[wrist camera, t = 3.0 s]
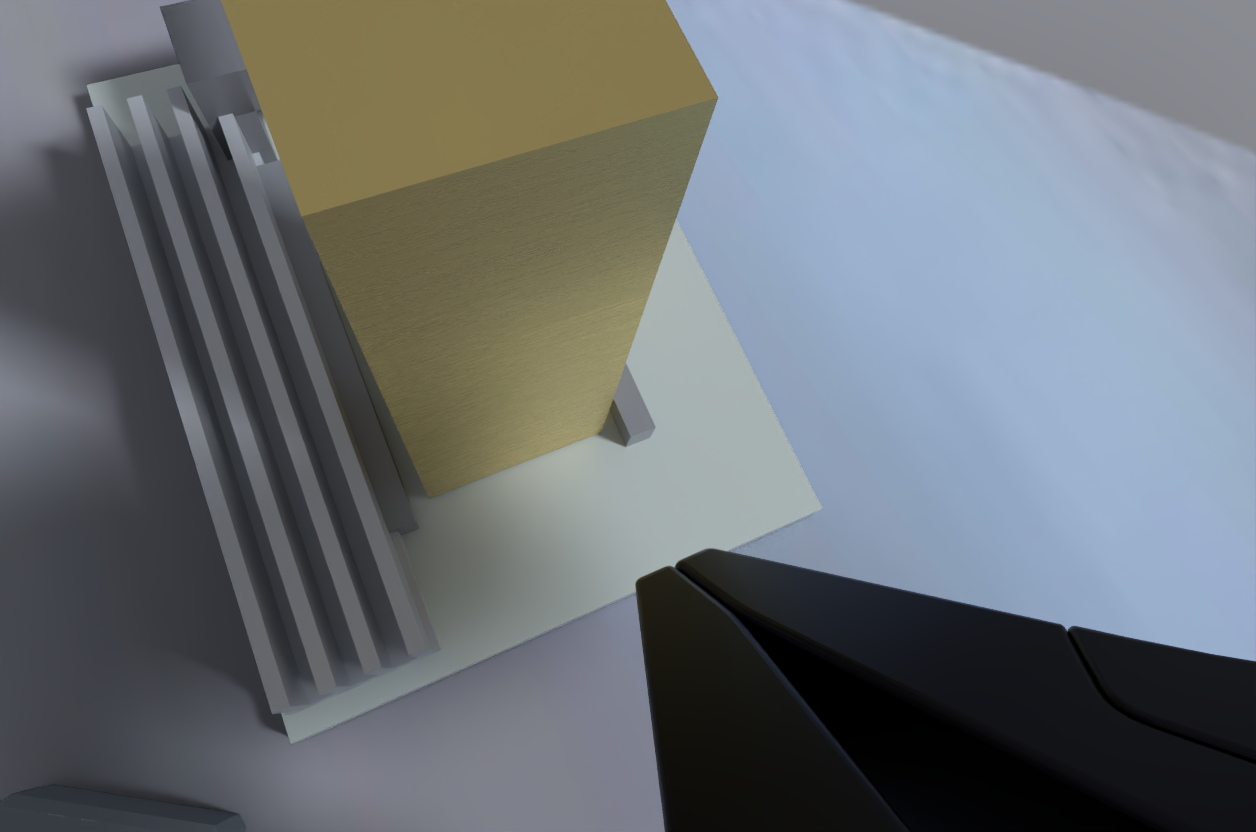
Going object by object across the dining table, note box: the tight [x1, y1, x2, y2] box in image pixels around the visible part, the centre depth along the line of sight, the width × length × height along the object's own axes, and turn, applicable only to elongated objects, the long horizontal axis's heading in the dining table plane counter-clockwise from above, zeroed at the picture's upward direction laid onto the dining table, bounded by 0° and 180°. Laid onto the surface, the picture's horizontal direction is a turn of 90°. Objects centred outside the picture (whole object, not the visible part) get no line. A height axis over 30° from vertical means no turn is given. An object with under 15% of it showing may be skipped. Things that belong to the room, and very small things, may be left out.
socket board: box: [86, 0, 823, 744], centre depth 18 cm, size 16×12×4 cm
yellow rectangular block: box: [221, 0, 718, 499], centre depth 13 cm, size 6×4×11 cm, turn 24°
